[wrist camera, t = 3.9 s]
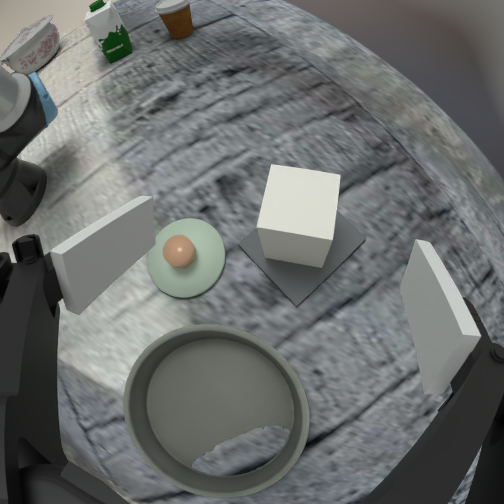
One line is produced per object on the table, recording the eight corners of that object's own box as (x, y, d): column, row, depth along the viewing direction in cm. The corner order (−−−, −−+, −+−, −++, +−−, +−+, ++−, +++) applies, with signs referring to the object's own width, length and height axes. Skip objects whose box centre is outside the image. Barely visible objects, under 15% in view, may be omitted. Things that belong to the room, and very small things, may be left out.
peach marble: (181, 277, 42) (174, 271, 39) (165, 255, 44) (157, 249, 41) (204, 256, 43) (198, 250, 40) (187, 236, 44) (180, 228, 41)
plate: (179, 314, 41) (177, 314, 41) (136, 256, 45) (134, 254, 44) (242, 259, 43) (241, 258, 42) (193, 206, 46) (192, 203, 46)
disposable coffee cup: (187, 23, 67) (177, -8, 56) (205, 29, 64) (195, -4, 53) (160, 38, 66) (148, 7, 55) (177, 44, 63) (164, 10, 52)
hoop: (119, 438, 36) (104, 445, 32) (171, 300, 42) (159, 295, 38) (266, 507, 31) (263, 521, 27) (334, 363, 37) (340, 365, 33)
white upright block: (321, 267, 40) (332, 240, 30) (265, 257, 42) (256, 227, 31) (329, 215, 43) (340, 175, 32) (276, 206, 44) (271, 164, 34)
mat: (296, 306, 40) (296, 306, 39) (238, 245, 43) (238, 243, 43) (365, 239, 41) (366, 237, 41) (307, 186, 45) (307, 184, 45)
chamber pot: (74, 32, 84) (56, 1, 64) (62, 60, 75) (38, 23, 55) (27, 63, 84) (6, 36, 65) (11, 96, 75) (-16, 66, 56)
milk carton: (133, 41, 68) (110, -7, 49) (134, 53, 65) (109, 1, 46) (107, 54, 68) (82, 8, 49) (107, 66, 65) (78, 17, 46)
